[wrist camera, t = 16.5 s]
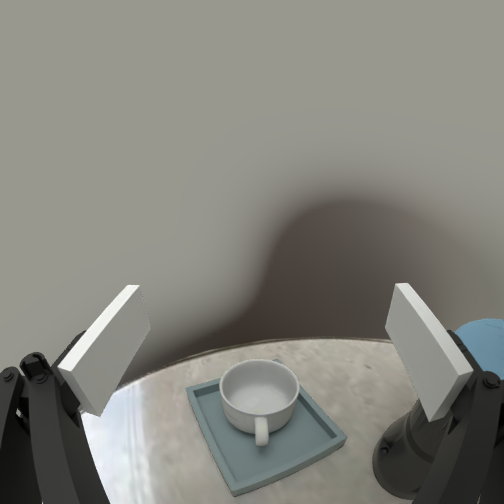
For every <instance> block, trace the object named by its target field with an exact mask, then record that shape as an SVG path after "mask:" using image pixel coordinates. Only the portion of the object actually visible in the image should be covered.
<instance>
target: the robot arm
mask: <svg viewBox="0 0 504 504" xmlns="http://www.w3.org/2000/svg"><path fill="white" fill-rule="evenodd" d="M150 328H151V326H150V323H149V319H148V316H147V312H146V308H145V304H144V300H143V296H142V292H141V288H140V285H127V287H125V288H124V290H123V291H122V292H121V293H120V294H119V295H118V296H117V297H116V298H115V299H114V300H113V302H112V303H111V304H110V305H109V306H108V307H107V308H106V309H105V311H104V312H103V313H102V314H101V315H100V316H99V317H98V319H97V320H96V321H95V322H94V323H93V324H92V325H91V327H90V328H89V329H88V330H87V331H83V332H82V333H80V334H79V335H77V336H76V337H75V338H74V340H73V341H72V342H71V344H69V345H68V347H67V348H66V350H64V352H63V353H62V354H61V355H60V356H59V357H58V359H57V360H56V361H55V362H54V364H53V365H52V366H51V367H50V366H49V364H48V362H47V360H46V359H45V357H44V355H43V354H42V353H39V352H34V353H31V354H28V355H27V356H26V357H24V358H23V359H22V361H21V362H20V368H21V370H22V371H23V373H24V374H25V376H22V375H21V374H20V372H19V370H18V369H17V368H16V367H8V368H6V369H4V370H3V371H2V372H1V373H0V504H42V502H43V504H110V502H109V500H108V497H107V495H106V493H105V490H104V488H103V485H102V483H101V480H100V478H99V475H98V472H97V470H96V467H95V464H94V461H93V458H92V455H91V452H90V448H89V445H88V442H87V438H86V434H85V431H84V427H83V423H82V419H81V414H80V412H79V410H78V407H79V405H80V404H81V405H82V407H83V408H84V410H85V411H86V412H87V413H90V414H93V415H96V416H99V417H100V416H101V414H102V412H103V410H104V408H105V407H106V405H107V403H108V401H109V399H110V397H111V396H112V394H113V392H114V390H115V388H116V387H117V385H118V383H119V381H120V379H121V378H122V375H123V374H124V373H125V371H126V369H127V367H128V366H129V364H130V362H131V360H132V359H133V357H134V355H135V353H136V352H137V350H138V348H139V347H140V345H141V343H142V342H143V340H144V338H145V337H146V335H147V333H148V332H149V330H150ZM385 328H386V330H387V332H388V334H389V336H390V338H391V340H392V342H393V344H394V346H395V348H396V350H397V352H398V354H399V356H400V358H401V360H402V362H403V364H404V366H405V368H406V371H407V373H408V375H409V377H410V379H411V381H412V383H413V386H414V388H415V390H416V392H417V395H418V397H419V398H418V400H417V402H416V403H415V405H414V407H413V409H412V410H411V411H410V412H409V413H407V414H406V415H404V416H403V417H401V418H400V419H398V420H397V421H396V422H394V423H393V424H392V425H391V426H390V427H389V428H388V429H387V430H386V431H385V433H384V434H383V436H382V437H381V439H380V440H379V442H378V444H377V446H376V448H375V451H374V455H373V469H374V473H375V476H376V478H377V480H378V482H379V483H380V484H381V486H382V487H383V488H384V489H385V490H386V491H388V492H389V493H391V494H393V495H394V496H397V497H400V498H404V499H414V501H413V503H412V504H477V501H478V498H479V496H480V493H481V496H480V502H479V504H504V320H500V319H481V320H477V321H471V322H469V323H467V324H465V325H463V326H461V327H460V328H459V329H458V330H456V331H455V332H454V333H453V332H452V331H451V330H447V331H446V330H445V329H444V328H443V326H442V325H441V324H440V322H439V321H438V320H437V318H436V317H435V316H434V314H433V313H432V312H431V311H430V309H429V308H428V307H427V306H426V304H425V303H424V302H423V301H422V299H420V297H419V296H418V295H417V293H416V292H415V291H414V290H413V289H412V288H411V286H410V285H409V284H408V283H402V284H395V288H394V293H393V298H392V302H391V306H390V310H389V314H388V318H387V322H386V326H385ZM17 409H18V410H19V411H20V412H21V415H20V417H19V416H18V415H17V414H16V411H17Z"/></svg>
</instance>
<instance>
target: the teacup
mask: <svg viewBox="0 0 504 504" xmlns="http://www.w3.org/2000/svg"><path fill="white" fill-rule="evenodd" d="M219 389H220V394H221V399H222V405H223V410H224V413H225V415H226V417H227V419H228V420H229V421H230V423H231V424H232V425H234V426H235V427H236V428H238V429H239V430H242V431H244V432H247V433H251V434H255V438H256V445H258V446H265V445H267V444H268V441H269V433H270V432H273V431H276V430H278V429H279V428H281V427H282V426H284V425H285V424H286V423H287V422H288V420H289V419H290V417H291V415H292V413H293V410H294V407H295V404H296V400H297V397H298V394H299V389H300V385H299V381H298V378H297V376H296V375H295V374H294V372H293V371H292V370H291V369H289V368H288V367H287V366H285V365H283V364H281V363H278V362H275V361H271V360H265V359H251V360H246V361H241V362H239V363H236V364H235V365H233V366H231V367H230V368H229V369H227V370H226V371H225V372H224V374H223V375H222V377H221V380H220V383H219Z"/></svg>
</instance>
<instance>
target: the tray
mask: <svg viewBox="0 0 504 504" xmlns="http://www.w3.org/2000/svg"><path fill="white" fill-rule="evenodd" d="M272 361H275V362H278V363H281V362H280V361H279V360H278V359H275V360H272ZM281 364H282V363H281ZM220 380H221V378H219V379H216V380H212V381H209V382H205V383H202V384H198V385H195V386H191V387H187V388H185V389H186V392H187V395H188V398H189V400H190V403H191V406H192V408H193V411H194V413H195V416H196V418H197V420H198V423H199V425H200V428H201V430H202V432H203V435H204V437H205V439H206V441H207V444H208V446H209V448H210V450H211V452H212V454H213V457H214V459H215V461H216V463H217V465H218V467H219V469H220V471H221V473H222V475H223V477H224V479H225V481H226V483H227V485H228V487H229V488H230V490H231V492H232V494H233V496H234V497H236V496H238V495H241V494H244V493H247V492H250V491H253V490H255V489H258V488H260V487H263V486H265V485H268V484H270V483H273V482H275V481H277V480H280V479H282V478H284V477H286V476H288V475H291V474H293V473H295V472H297V471H299V470H301V469H303V468H305V467H307V466H309V465H311V464H313V463H315V462H316V461H318V460H320V459H322V458H324V457H325V456H327V455H329V454H331V453H332V452H334V451H336V450H337V449H339V448H341V447H342V446H343V445H344V443H345V441H346V439H347V436H346V435H345V434H344V433H343V432H342V431H341V430H340V429H339V428H338V426H337V425H336V424H335V423H334V422H333V421H332V420H331V419H330V418H329V417H328V416H327V415H326V413H325V412H324V411H323V410H322V409H321V408H320V407H319V406H318V405H317V403H316V402H315V401H314V400H313V399H312V398H311V397H310V396H309V394H308V393H307V392H306V391H305V390H304V389H303V388H302V386H301V385H300V384H299V385H300V389H299V394H298V397H297V400H296V404H295V407H294V410H293V413H292V415H291V417H290V419H289V420H288V422H287V423H286V424H285V425H284V426H282V427H281V428H279V429H278V430H276V431H273V432H270V433H269V441H268V444H267V445H265V446H258V445H256V438H255V434H251V433H247V432H244V431H242V430H239V429H238V428H236V427H235V426H234V425H232V424H231V423H230V421H229V420H228V419H227V417H226V415H225V413H224V410H223V405H222V399H221V394H220V389H219V383H220Z"/></svg>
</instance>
